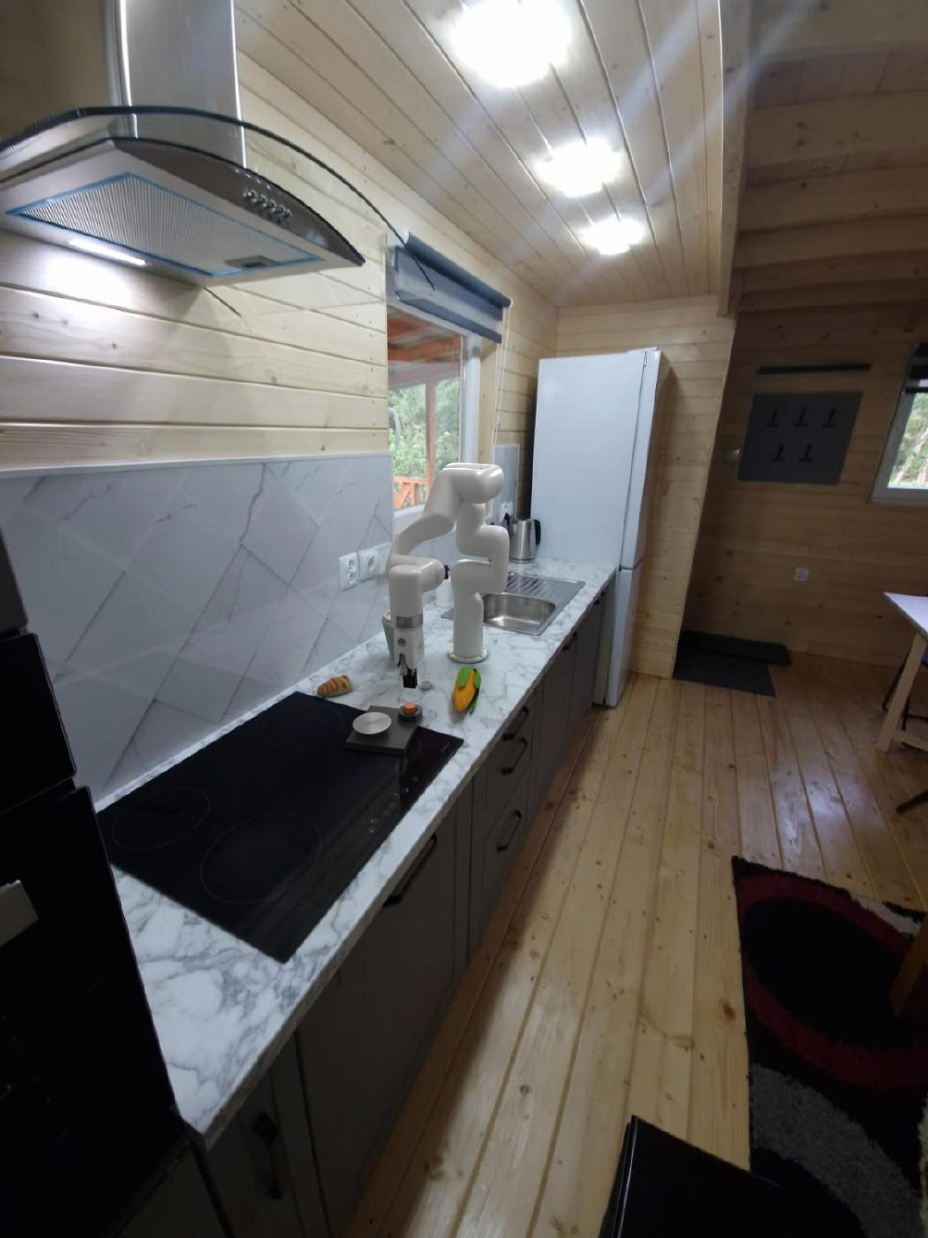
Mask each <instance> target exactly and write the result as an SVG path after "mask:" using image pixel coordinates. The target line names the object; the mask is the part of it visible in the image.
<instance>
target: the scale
mask: <svg viewBox="0 0 928 1238" xmlns="http://www.w3.org/2000/svg"><path fill="white" fill-rule="evenodd" d="M415 704H416V712H415V713H412V714H406V713H405V712H404V704H403V705H401V706H399V707H392V706H391V707H390V706H381V705H371V704H370V705H369V707H368V708H367V709H366V711H365V713H364V714H366V713H371V712H379V713H384V714H386V715H388V716H389V717H390V719H391V726H390V728H389V729H388V730H387V731H385V732H384V733H381V734H378V735H374V736H365V735H361V734H358V733H357V732H355V731H354V729H353V730H352V731H351V733H350V735H348V738H347V739H346V741H345V748H346V749H348V750H349V749H350V750H355V751H356V750H357V751H364V752H373V753H380V754H388V755H396V756H402V757H403V756H406V753H407V751H408V749H409V747H410V745H411V743H412V740H413V739H414V736H415V735H416V732H417V730H418V728H419V726H420V724H421V722H422V720H423V718H424V717H423V716H424V715H423V708H422V706H421V705H419V704H417V703H415Z"/></svg>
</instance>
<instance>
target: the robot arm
mask: <svg viewBox="0 0 928 1238" xmlns="http://www.w3.org/2000/svg"><path fill="white" fill-rule="evenodd" d="M504 485H505V474H504V470H503V469H502V468H501V466H499V465H497V464H493V463H492V464H491V463H473V462H453V463H448V464H446V465H445V466H444V467H443V468H442V469H441V470H439V471H438V472H437V473H436V475H435V476H434V479H433V481H432V485H431V487H430V490H429V493H428V496H427V499H426V502H425V504H424V506H423V510H422V512H421V515H420V516H419V517H418V518H416V519H415V520H413V521H412V522H411V523H410V524H408V525H407V526H406V527H405V528H404V529H402V531H400V532H399V534H398V535H397V536H396V537H395V539H394V540H393V542H392V545H391V547H390V550H389V553H388V556H387V558H386V562H385V567H384V569H385V570H384V573H385V578H386V580H387V581H388V596H389V610H390V615H391V626H392V627H393V628H394V659H395V660H394V666H395V668H396V669H400V671H399V675H400V676H402V688H403V689H412V690H415V689H416V688H417V687H418V671H417V670H418V666H419V664H420V662H421V661H422V660H423V657H424V655H425V638H424V637H425V636H424V627H423V626H424V601H423V600H424V598H423V594H424V593H427V592H431V591H434V590H436V589H438V588H439V587H440V586H441V585H442V584H443V582H444V581H445V577H446V568H445V566H444V564H443V562H441V560H440V559H437V558H432V557H425V556H418V555H417V556H416V555H410V553H411V552H412V551H413V550H414V549H415V548H416V547H417V546H419V545H421V544H423V543H425V542H428V541H431V540H435V539H437V538H440V537H443V536H445V535H447V534H449V533H451V532H452V531H453V530H454V528H455V546H456V550H457V552H458V553H460V554H461V555H464V556H469V557H479V558H486V559H490V561H485V560H480V559H479V560H478V559H469V558H464V559H458V560H455V562H453V563H452V565H451V567H450V571H449V575H450V576H449V579H450V584H451V589H452V598H453V599H452V600H453V601H452V603H453V604H452V605H453V607H452V610H453V611H452V612H453V613H452V614H453V615H452V616H453V620H452V621H453V625H452V626H453V627H452V628H453V631H452V632H453V633H452V636H453V638H452V639H453V641H452V642H453V644H452V646H451V647H450V648H449V649H448V656H449V658H451V659H452V660H453V661H455V662H459V663H464V664H473V663H478V662H481V661H483V660H485V659H486V658H487V657H488V650H487V648H486V647H485V646H483V645H484V617H485V616H484V614H485V613H484V612H485V611H484V610H485V604H484V600H483V598H482V596H481V594H487V595H501V594H503V593H504V592H505V591H506V588H507V586H508V579H509V562H510V547H511V546H510V542H511V541H510V535H509V531H508V530H507V529H506V528H505V527H503V526H500V525H495V524H494V525H493V524H487V522H486V511H487V508H486V503H488V502H490V501H492V500H493V499H495V498H496V497H498V496H499V495H501V493H502V490H503V488H504ZM455 524H456V525H455ZM480 593H481V594H480Z"/></svg>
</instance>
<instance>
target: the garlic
mask: <svg viewBox="0 0 928 1238" xmlns="http://www.w3.org/2000/svg"><path fill="white" fill-rule="evenodd" d="M432 686H433V684H432V681H431V680H430V677H428V678H424V679H423V680H422V681H421V683H420V687H421V689H422V690H430V689H431V688H432Z"/></svg>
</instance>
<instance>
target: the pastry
mask: <svg viewBox="0 0 928 1238" xmlns="http://www.w3.org/2000/svg"><path fill="white" fill-rule="evenodd" d="M353 688H354V686H353V683H352V681H351V679H350V677H349V676H348V675H347V674H341V675H338V676H334V677H331V678H329V679H328V680H327V681H325V682H323V683H322V684H320V685H319V686H318V687H317V689H316V694H317V695H318V696H321V697H324V698H329V697H330V698H331V697H336V696H341V695H344V694H348V693H350V692H351V691H352V690H353Z"/></svg>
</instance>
